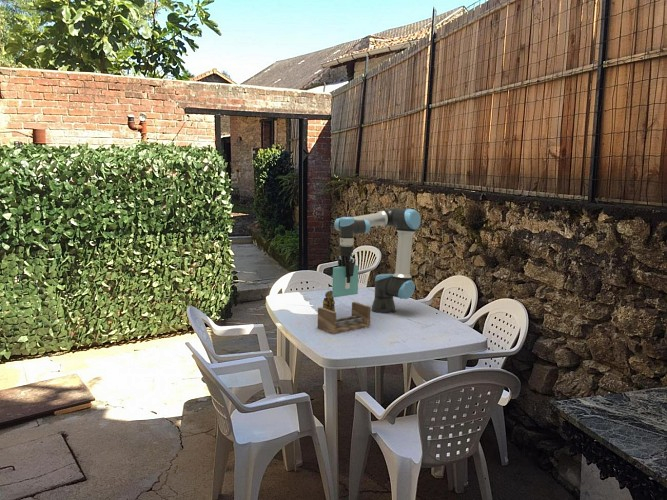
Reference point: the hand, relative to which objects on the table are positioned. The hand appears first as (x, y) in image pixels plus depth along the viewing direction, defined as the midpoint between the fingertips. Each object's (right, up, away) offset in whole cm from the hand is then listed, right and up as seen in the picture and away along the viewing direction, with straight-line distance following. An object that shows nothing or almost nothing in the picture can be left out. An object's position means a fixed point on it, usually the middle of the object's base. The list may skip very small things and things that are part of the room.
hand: (345, 287), depth 294 cm
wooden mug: (-9, -20, +23) cm, 31 cm away
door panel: (0, -4, +1) cm, 4 cm away
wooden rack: (-1, -22, +3) cm, 22 cm away
